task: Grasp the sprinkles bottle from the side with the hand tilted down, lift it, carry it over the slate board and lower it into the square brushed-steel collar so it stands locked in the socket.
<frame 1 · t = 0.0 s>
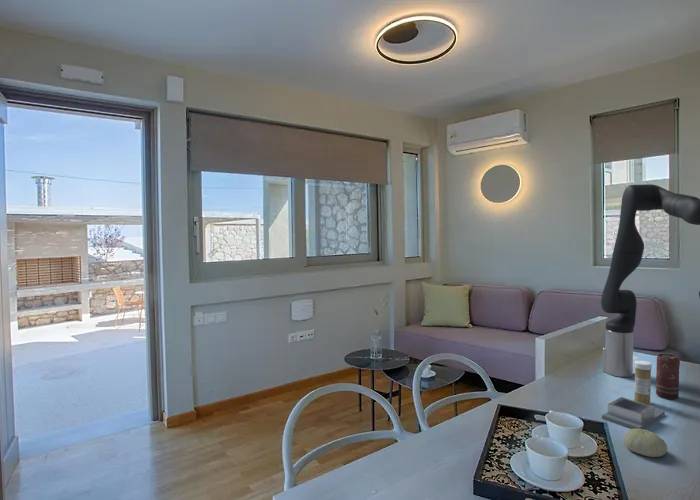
collar: (630, 415, 127), resting on slate board
sprinkles bottle: (642, 402, 138), on the table
can: (667, 397, 142), on the table
sea urchin shell: (644, 451, 109), on the table
slate board: (633, 416, 128), on the table
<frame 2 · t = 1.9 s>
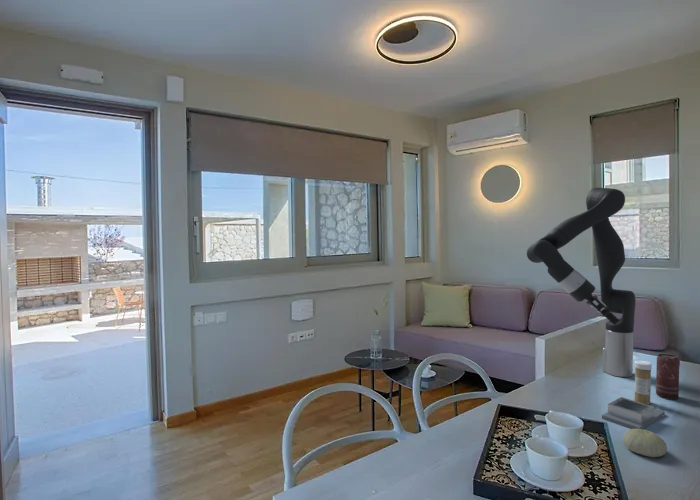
hand: (613, 320, 141), 27 cm above the table, tool tilted 45°, fingers open, 8 cm apart
nothing on the table moved.
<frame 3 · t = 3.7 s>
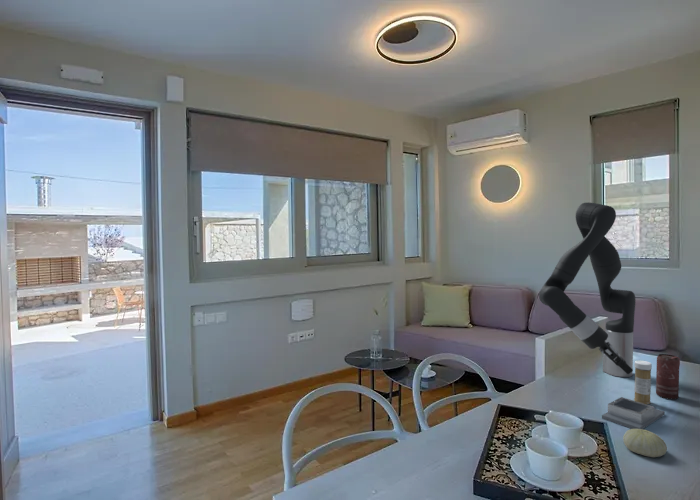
hand: (627, 368, 139), 11 cm above the table, tool tilted 45°, fingers open, 8 cm apart
nothing on the table moved.
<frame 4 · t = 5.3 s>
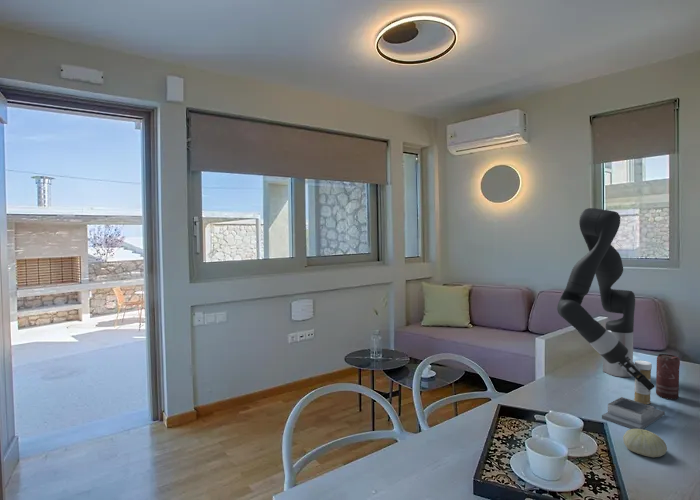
hand: (649, 385, 137), 6 cm above the table, tool tilted 45°, fingers closed on sprinkles bottle, 4 cm apart
sprinkles bottle: (642, 402, 138), on the table, touching gripper
everything else where it was.
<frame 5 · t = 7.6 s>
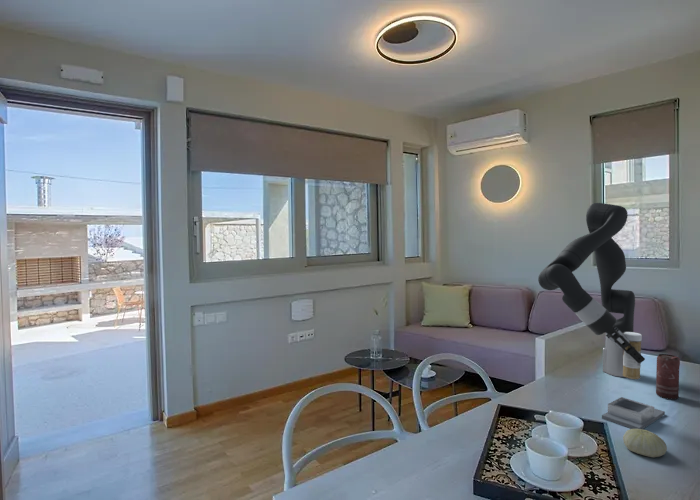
hand: (639, 358, 125), 18 cm above the table, tool tilted 45°, fingers closed on sprinkles bottle, 4 cm apart
sprinkles bottle: (631, 377, 126), point 12 cm above the table, touching gripper
everything else where it was.
when the fingers open (8 cm above the table, at t = 9.9 s): sprinkles bottle drops 1 cm, resting on slate board.
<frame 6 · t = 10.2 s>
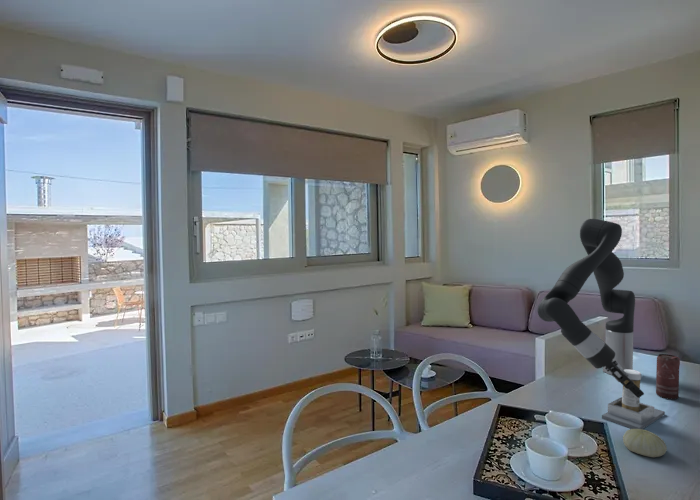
hand: (637, 391, 126), 9 cm above the table, tool tilted 45°, fingers open, 6 cm apart
sprinkles bottle: (629, 415, 127), point 1 cm above the table, touching slate board
everything else where it was.
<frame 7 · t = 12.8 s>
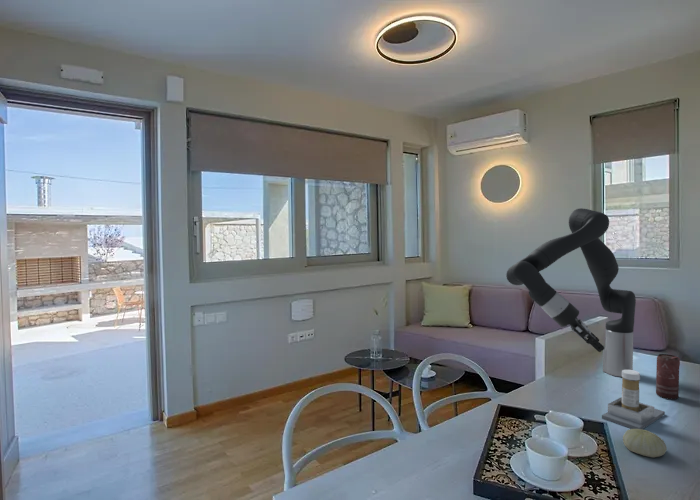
hand: (599, 345, 132), 20 cm above the table, tool tilted 45°, fingers open, 8 cm apart
nothing on the table moved.
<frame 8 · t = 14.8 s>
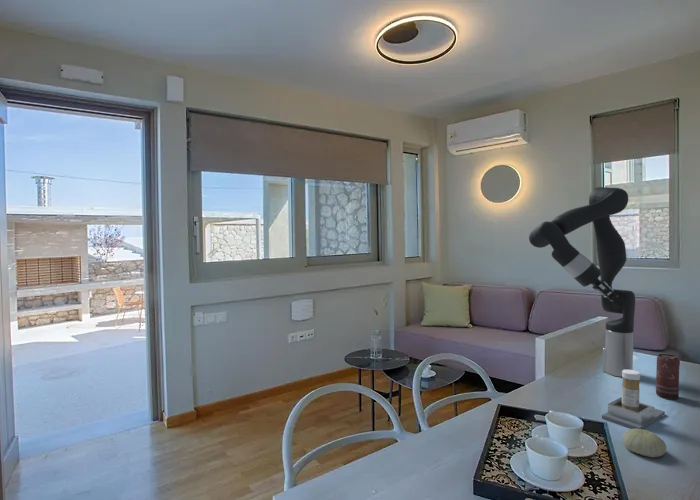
hand: (621, 305, 136), 33 cm above the table, tool tilted 45°, fingers open, 8 cm apart
nothing on the table moved.
at the end: sprinkles bottle 0.2 cm from the collar (horizontally); sprinkles bottle point 0.8 cm above the table; sprinkles bottle tilted 0° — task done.
